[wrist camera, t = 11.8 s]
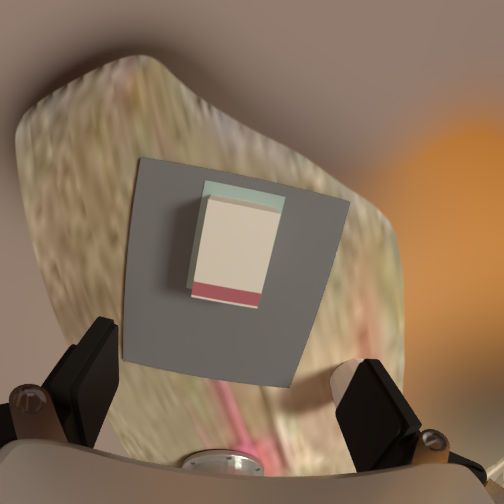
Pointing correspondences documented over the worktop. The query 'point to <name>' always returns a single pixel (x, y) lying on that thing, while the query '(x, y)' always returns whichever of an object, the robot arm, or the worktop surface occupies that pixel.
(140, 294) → the mat
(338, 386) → the white cup
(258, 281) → the card box
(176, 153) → the worktop surface
